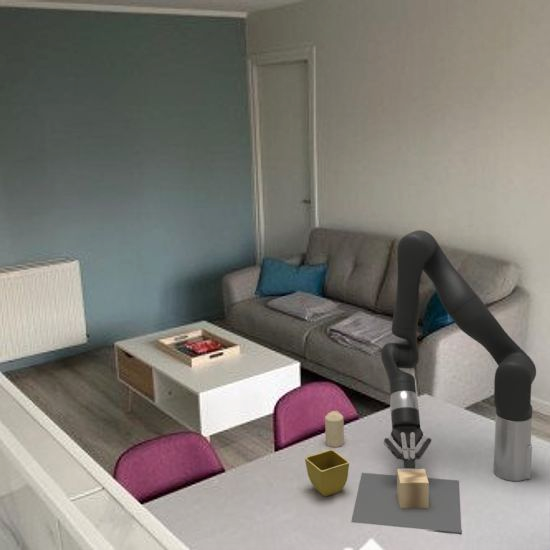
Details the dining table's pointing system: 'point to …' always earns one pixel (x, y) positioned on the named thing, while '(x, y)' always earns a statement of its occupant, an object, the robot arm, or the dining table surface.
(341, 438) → the candle
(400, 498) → the cube
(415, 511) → the mat
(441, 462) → the dining table surface
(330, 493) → the flower pot
